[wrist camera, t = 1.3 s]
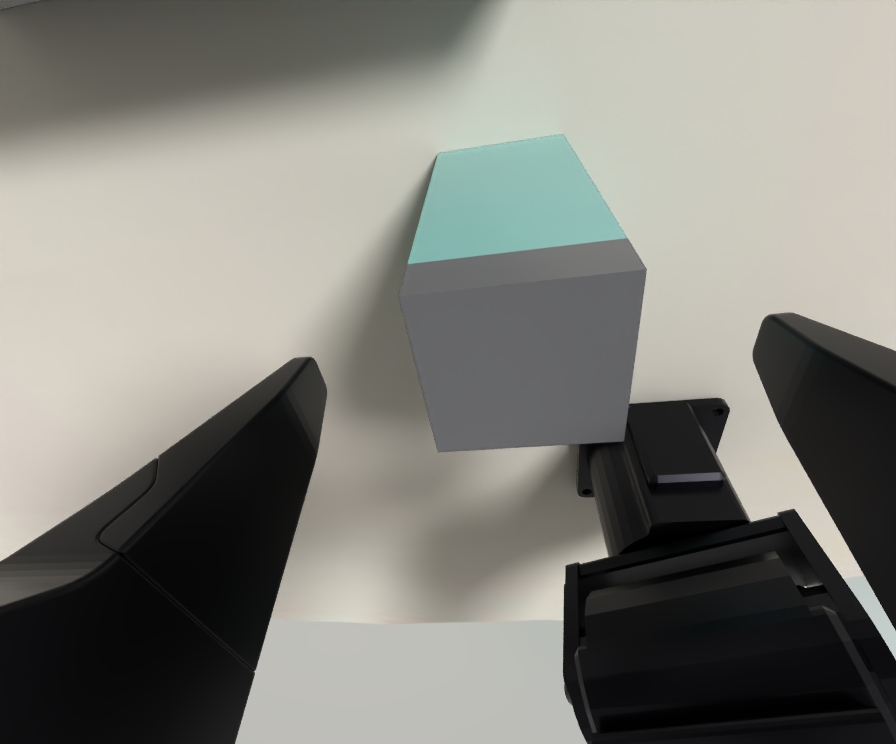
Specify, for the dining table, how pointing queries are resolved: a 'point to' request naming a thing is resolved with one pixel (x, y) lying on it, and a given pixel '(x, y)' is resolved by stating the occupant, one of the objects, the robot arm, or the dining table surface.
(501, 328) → the plug
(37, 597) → the robot arm
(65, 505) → the dining table surface
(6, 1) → the socket plate
